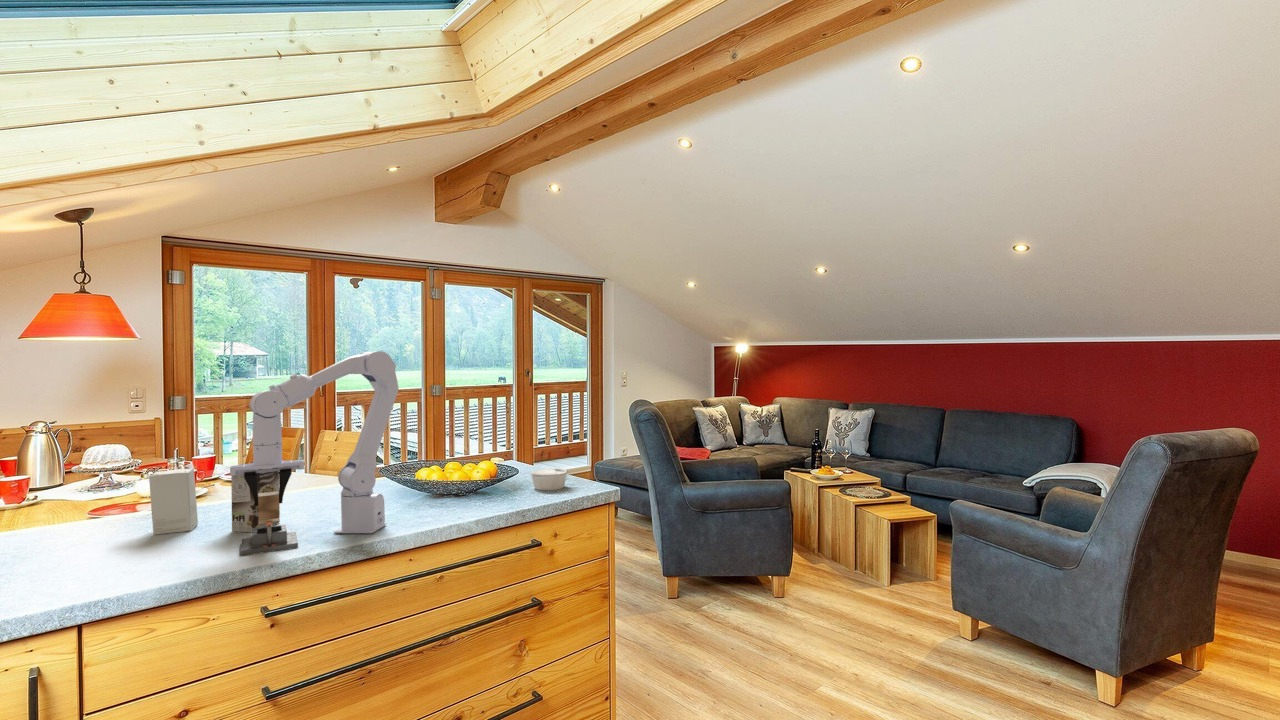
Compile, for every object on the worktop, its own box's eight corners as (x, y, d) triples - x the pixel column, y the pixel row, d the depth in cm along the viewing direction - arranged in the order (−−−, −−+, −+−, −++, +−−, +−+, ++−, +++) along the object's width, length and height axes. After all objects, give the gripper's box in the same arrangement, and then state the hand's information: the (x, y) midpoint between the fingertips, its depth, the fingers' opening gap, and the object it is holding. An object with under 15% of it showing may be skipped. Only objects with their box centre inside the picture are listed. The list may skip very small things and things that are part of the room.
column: (279, 517, 150) (278, 491, 150) (279, 521, 146) (279, 494, 146) (258, 520, 148) (258, 493, 148) (258, 524, 144) (257, 496, 144)
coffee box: (253, 532, 158) (252, 466, 158) (230, 531, 159) (229, 466, 159) (281, 523, 167) (280, 460, 167) (259, 522, 168) (258, 459, 168)
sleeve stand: (296, 535, 155) (295, 508, 155) (298, 547, 145) (297, 518, 145) (241, 543, 149) (241, 515, 149) (240, 555, 140) (239, 525, 140)
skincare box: (198, 525, 165) (196, 467, 165) (190, 531, 160) (189, 471, 159) (158, 529, 162) (157, 470, 162) (150, 535, 157) (148, 474, 156)
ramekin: (574, 487, 207) (574, 470, 206) (546, 493, 198) (546, 476, 198) (552, 482, 214) (551, 467, 214) (524, 488, 206) (524, 471, 206)
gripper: (228, 448, 140) (230, 511, 140) (304, 443, 147) (305, 503, 147) (230, 445, 146) (231, 505, 146) (302, 439, 153) (304, 497, 153)
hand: (268, 503), depth 147 cm, fingers closed on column, 4 cm apart
